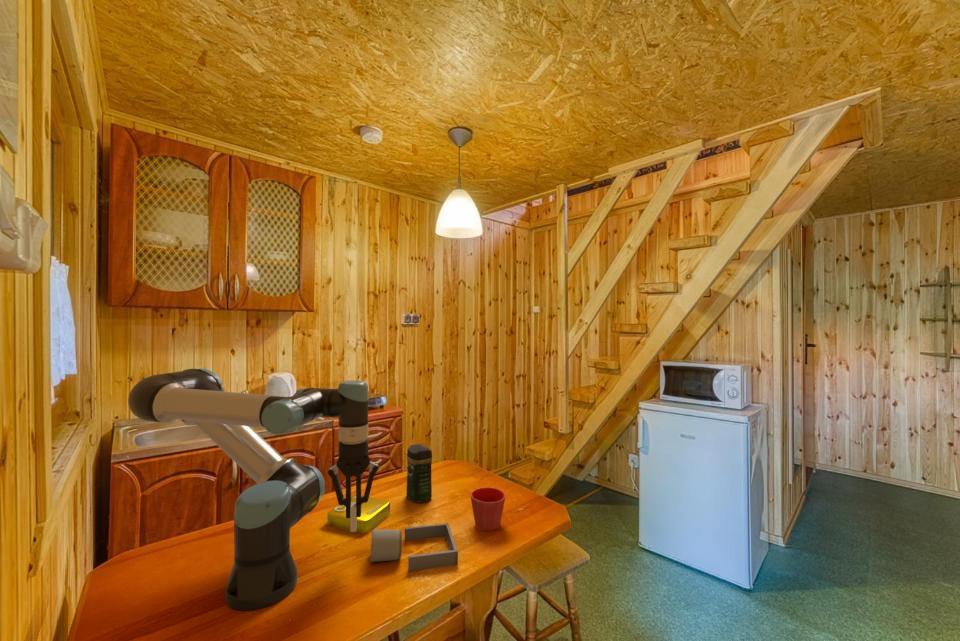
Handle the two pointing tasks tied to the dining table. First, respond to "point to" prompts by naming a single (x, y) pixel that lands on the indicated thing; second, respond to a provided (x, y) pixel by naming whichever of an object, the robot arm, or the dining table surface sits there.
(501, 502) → the flower pot
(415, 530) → the box
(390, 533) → the ceramic mug
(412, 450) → the coffee jar
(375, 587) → the dining table surface
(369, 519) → the element tile
